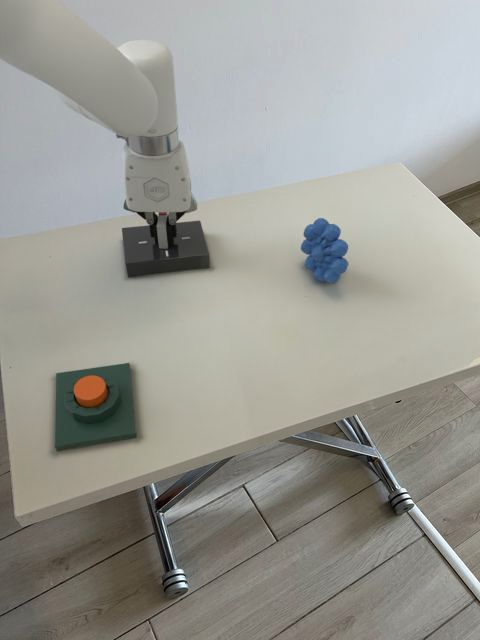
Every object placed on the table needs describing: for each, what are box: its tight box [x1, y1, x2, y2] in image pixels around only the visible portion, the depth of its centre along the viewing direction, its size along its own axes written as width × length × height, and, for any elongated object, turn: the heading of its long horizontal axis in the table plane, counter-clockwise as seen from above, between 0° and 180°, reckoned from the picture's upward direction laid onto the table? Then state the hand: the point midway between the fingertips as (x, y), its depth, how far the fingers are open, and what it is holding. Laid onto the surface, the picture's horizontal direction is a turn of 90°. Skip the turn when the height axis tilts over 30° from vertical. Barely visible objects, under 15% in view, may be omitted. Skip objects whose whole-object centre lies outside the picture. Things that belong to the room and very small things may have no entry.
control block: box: [54, 362, 138, 452], centre depth 71 cm, size 10×12×3 cm
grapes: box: [300, 217, 349, 284], centre depth 87 cm, size 12×7×12 cm, turn 29°
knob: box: [157, 212, 168, 249], centre depth 90 cm, size 5×2×5 cm, turn 3°
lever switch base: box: [121, 219, 211, 278], centre depth 93 cm, size 14×10×3 cm
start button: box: [74, 376, 108, 408], centre depth 69 cm, size 4×4×2 cm
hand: (164, 239), depth 92 cm, fingers closed, pressing on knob
